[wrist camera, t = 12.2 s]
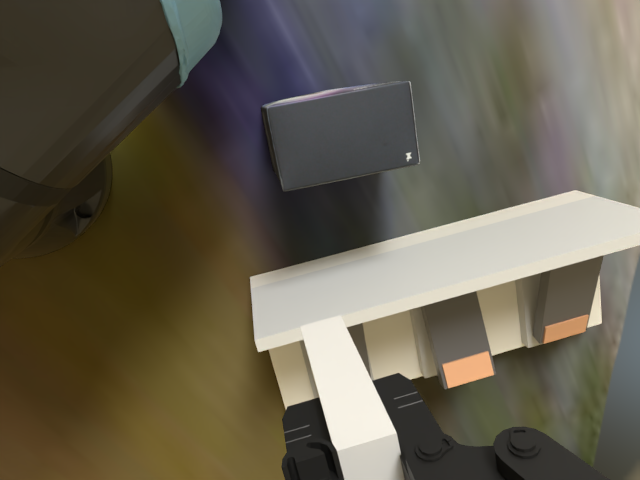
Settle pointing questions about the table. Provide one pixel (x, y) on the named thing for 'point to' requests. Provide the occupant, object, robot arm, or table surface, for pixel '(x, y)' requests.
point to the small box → (341, 134)
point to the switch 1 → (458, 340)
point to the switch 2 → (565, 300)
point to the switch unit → (435, 284)
